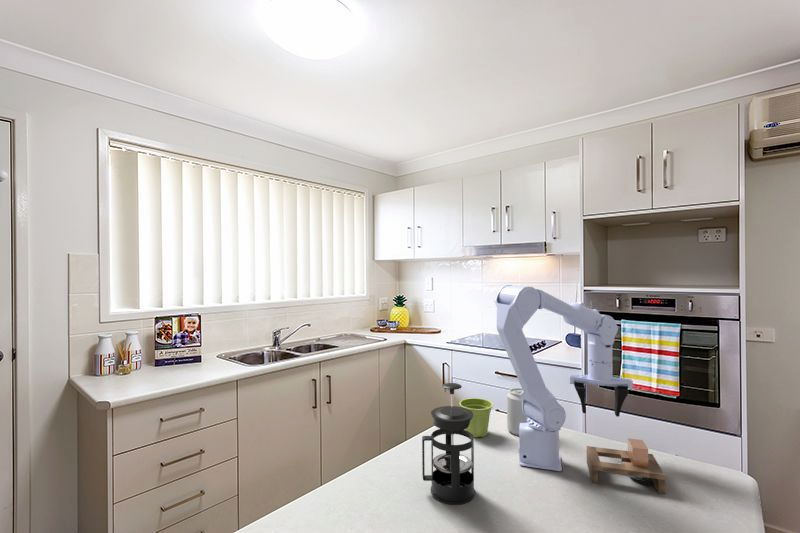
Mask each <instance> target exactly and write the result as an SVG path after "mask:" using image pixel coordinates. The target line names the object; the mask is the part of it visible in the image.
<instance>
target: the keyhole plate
mask: <svg viewBox="0 0 800 533" xmlns="http://www.w3.org/2000/svg"><path fill="white" fill-rule="evenodd" d="M600 457H604V458H610V459H611V458H612V459H619V460H621V462H623V463H617V462H610V461H609V462H608V461H601V459H600ZM586 465H587V470H588V473H589V477H590V481H591V484H595V485H598V484H599V471H600V472H606V473H613V474H620V475H626V476H629V475H633V476H640V477H647V478H648V479H650V480H651V482H652V484H653V485H654V487H655V489H656V491H657V493H658V494H661V495H666V475H665V473H664V471H663V470H662V467H661V466H660V464H659V462H658V461H657V460H656V457H655V456H654V454H653V453H648V468H646V467H639V466H633V465H632V463H631V461H630V459H629V457H628V450H621V449H614V448H607V447H599V446H589V445H586Z"/></svg>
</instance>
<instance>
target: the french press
mask: <svg viewBox="0 0 800 533" xmlns="http://www.w3.org/2000/svg"><path fill="white" fill-rule="evenodd" d="M441 387H442V388H443V389H446V390H449V394H450V404H451V405H445V406H439V407H436V408H433V409H432V410H431V411H430V416H431V417H432V418H433V420H432V422H433V423H432V424H433V426H434V427H436V428H438V429H436V430H434V431H432V433H431V435H423V436H421V437H422V438H421V455H422V456H421V460H422V461H421V464H422V465H421V466H422V467H421V471H422V474H421V475H422V480H423V481H425V482H429V481H430V482H431V485H430V486H431V487H430V494H431V496H432V497H433V498H434V500H436V501H437V502H440V503H442V504H446V505H453V506H454V505H455V506H458V505H459V506H460V505H464V504H467V503H469V502H471V501H472V500H474V498H475V495H476V491H475V472H474V471H475V468H474V467H475V462H474V460H475V456H474V455H475V454H474V453H475V451H474V450H475V449H474V448H475V447H474V446H475V444H474V438H475V437H473V435H472V434H471V433H470V432H468V431H466V430H465V429H467V428H468V426H469V424H470V421H471V419H472V418H473V412H472V411H470V410H468V409H466V408H463V407H461V406H457V405H456V406H455V405H453V404H454V403H453V402H454V394H455V390H460V389H461V388H463V386H462V385H461V384H459V383H456V382H455V383H454V382H446V383H443V384H442V385H441ZM441 435H445V443H442V442H439V441H437V440H436V439H435V438H437V437H438V436H441ZM454 435H459V436H464V437H466V438H468V439H470V441H468V442H466V443H462V444H454ZM425 441H426V442H427V441H431V442H430V443H431V444H430V446H431V447H430V449H431V450H430V452H431V462H430V463H431V474H430V475H429V474H426V473H425ZM434 448H436V449H438V450H442V451H443V452H444V451H445V453H441V454H439V455H435V456H434ZM470 449H471V450H470ZM467 450H470V451H471V452H470V455H471V456H470V457H471V458H469V457H468V456H466V455H463V454H461V452H465V451H467ZM434 468H435V470H434ZM446 483H451V486H445V485H442V484H446ZM461 485H462V486H461Z"/></svg>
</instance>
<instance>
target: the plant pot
mask: <svg viewBox="0 0 800 533" xmlns="http://www.w3.org/2000/svg"><path fill="white" fill-rule="evenodd" d="M459 407H463V408H466V409H468V410H470V411H472V412H473V418H472V419H471V421H470V424H469V426H468V428H467V429H465V430H466V431H468V432H470V433H471V434H472V435H473V437H474V438H480V437H482V438H484V437H485V436H487V435H488V430H489V422H490V415H491V412H492V408H493V407H494V403H493V402H492V401H491V400H488V399H484V398H481V397H480V398H479V397H478V398H477V397H470V398H465V399H461V400H460V401H459Z"/></svg>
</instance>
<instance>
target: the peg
mask: <svg viewBox="0 0 800 533" xmlns="http://www.w3.org/2000/svg"><path fill="white" fill-rule="evenodd" d="M627 451H628V457H629V459H630V461H631V463H632V465H633V466H639V467H646V468H648V454H649V448H648V447H647V445H646V443H645V442H644V440H643V439H635V438H627ZM628 477H630V478H631V479H634V480H638V481H647V480H649V478H647V477H640V476H633V475H628Z"/></svg>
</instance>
